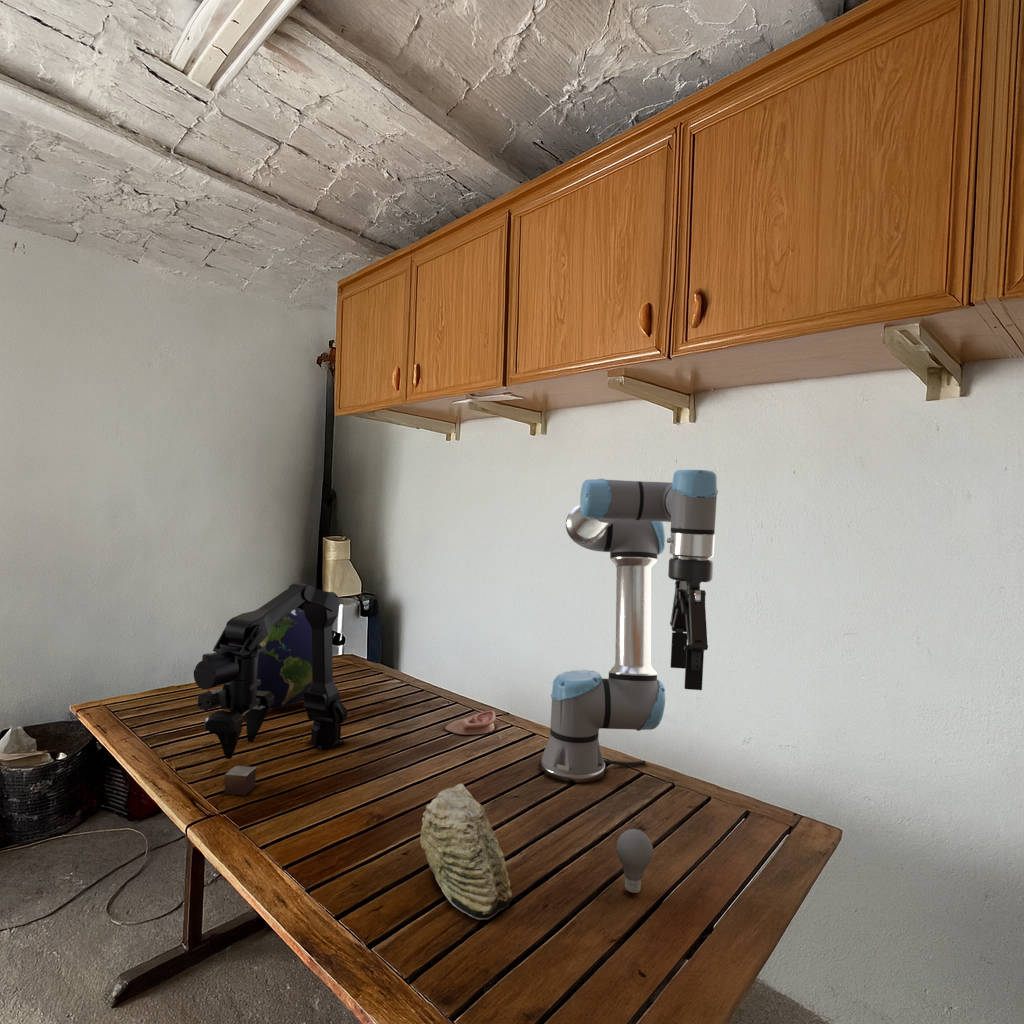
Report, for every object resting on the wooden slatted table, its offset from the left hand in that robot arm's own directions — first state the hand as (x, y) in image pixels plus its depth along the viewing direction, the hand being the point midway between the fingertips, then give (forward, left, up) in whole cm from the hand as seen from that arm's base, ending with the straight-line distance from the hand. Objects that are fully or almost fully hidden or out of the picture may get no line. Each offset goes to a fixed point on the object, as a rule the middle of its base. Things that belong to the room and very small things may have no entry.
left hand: (240, 750), depth 135 cm
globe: (-32, -44, -9) cm, 55 cm away
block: (0, 0, -9) cm, 9 cm away
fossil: (-11, +58, -9) cm, 59 cm away
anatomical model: (-63, +7, -9) cm, 63 cm away
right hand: (-41, +80, +26) cm, 94 cm away
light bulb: (-30, +78, -9) cm, 84 cm away
